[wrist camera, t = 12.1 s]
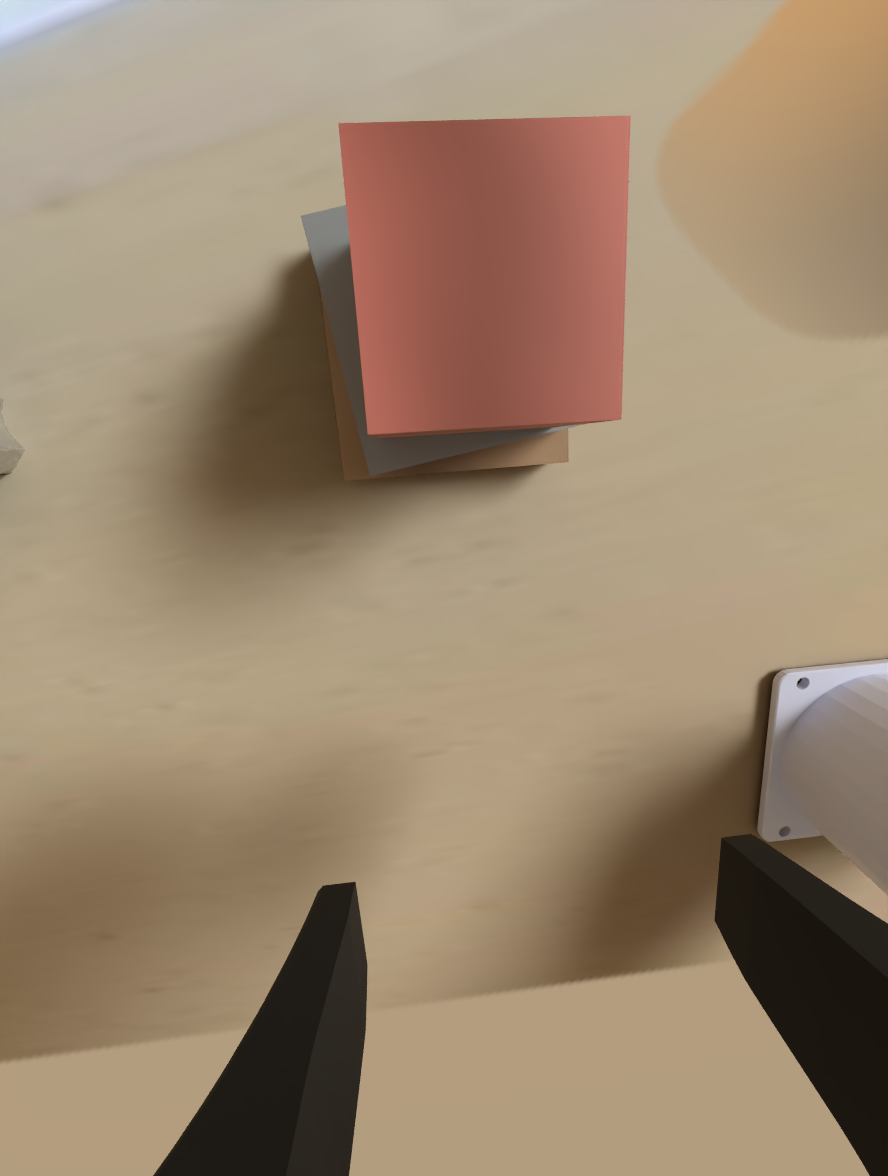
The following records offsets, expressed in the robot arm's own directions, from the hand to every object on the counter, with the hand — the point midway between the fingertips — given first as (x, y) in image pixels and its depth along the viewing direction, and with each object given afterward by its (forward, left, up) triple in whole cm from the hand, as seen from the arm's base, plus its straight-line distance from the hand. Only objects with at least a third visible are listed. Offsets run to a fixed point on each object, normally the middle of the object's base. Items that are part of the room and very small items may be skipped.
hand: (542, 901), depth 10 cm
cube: (0, -11, -6) cm, 13 cm away
